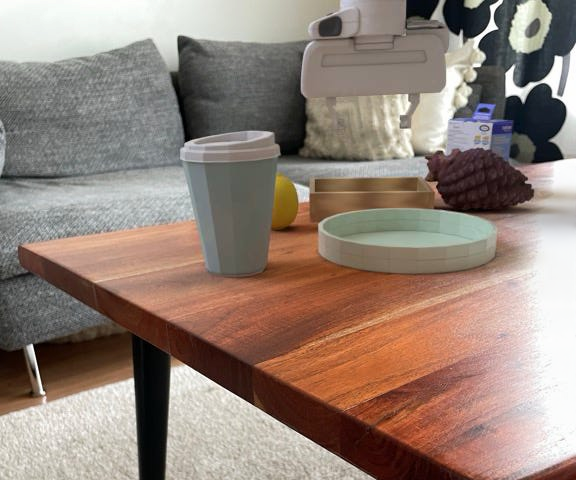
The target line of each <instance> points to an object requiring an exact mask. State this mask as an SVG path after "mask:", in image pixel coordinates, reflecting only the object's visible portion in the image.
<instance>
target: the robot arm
mask: <svg viewBox="0 0 576 480" xmlns="http://www.w3.org/2000/svg"><path fill="white" fill-rule="evenodd" d="M339 4H340V5H339V11H336V12H331V13H328V14H326V16H324V17H323V16H322V17H321V18H318V19H315V20H314V21H311V22H310V23H309V25H308V28H307V31H308V37H309V39H311V40H312V41H310V42H309V43H308V44H307V46H306V47H305V49H304V51H303V56H302V63H301V73H300V74H301V75H300V76H301V77H300V93H301V95H303V97H304V98H305V99H325V106H326V108H327V110H328V112H329V114H330V115H331V117H332V119H333V131H334V132H345V128H346V127H345V117H344V116H343V117H339V116H338V114H337V112H336V110H335V108H334V107H335V106H337V98H347V97H348V98H349V97H370V96H371V97H372V96H395V95H407V101H408V102H409V103H410V105H409V107H408V109H407V111H406V113H405V114H400V115H399V121H400V122H399V130H407V129H408V130H409V129H411V128H412V116H413V115H414V113H415V112H416V110H417V109H418V106H419V105H420V101H421V94H435V93H436V94H439V93H441V92H443V90H444V89H445V88H446V86H447V63H446V53H447V52H448V50H449V47H450V31H449V28H448V26H447V25H446V24H444V23H442V22H440V20H439V19H429V20H417V19H416V20H415V19H414V20H406V19H407V0H339ZM439 27H440V28H439Z"/></svg>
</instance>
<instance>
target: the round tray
mask: <svg viewBox="0 0 576 480" xmlns="http://www.w3.org/2000/svg"><path fill="white" fill-rule="evenodd" d="M317 225H318V226H317V250H318V251H317V252H318V254H319V255H320V256H321V257H322V258H323V259H325V260H327V261H328V262H331V263H333V264H336V265H338V266H339V265H340V266H342V267H346V268H351V269H355V270H361V271H366V272H373V273H374V272H375V273H385V274H398V275H399V274H400V275H426V274H427V275H428V274H429V275H430V274H444V273H452V272H458V271H459V272H460V271H465V270H469V269H474V268H477V267H480V266H482V265H485V264H488V263H489V262H491V261H492V260H493V259H494V258H495V256H496V252H497V244H498V234H499V227H498V226H497V225H496V224H495V223H494V222H493V221H490V220H488V219H486V218H483V217H482V216H477V215H474V214H469V213H464V212H458V211H451V210H443V209H435V208H434V209H420V208H385V209H369V210H359V211H352V212H347V213H341V214H337V215H334V216H331V217H328V218H325V219H324V220H323V221H321V222H318V224H317Z"/></svg>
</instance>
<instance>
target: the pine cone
mask: <svg viewBox="0 0 576 480" xmlns="http://www.w3.org/2000/svg"><path fill="white" fill-rule="evenodd" d="M424 159H425V160H426V161H427V162H426V167H427V169H428V173H427V175H426V176H425V177H424V180H425V181H426V182H427V183H437V184H436V185H435V189H436V190H437V193H438V195H440V198H441V200H442V201H443V204H445V205H448V206H449V207H453V209H454V211H459V210H462V212H466V211H468V210H469V209H471V208H473V209H478V208H482V209H483V210H495V211H497V210H503V209H509V208H510V207H516V206H518V204H524V203H525V202H530V201H531V200H532V199H533V198H534V197H535V189H534V188H532V187H533V185H532V183H527V181H529V178H528V176H526V175H525V174H523V173H522V171H521V170H519V169H516V168H515V167H514V166H512V165H511V164H510V161H509V162H507V161H505V160H504V158H503V157H499V156H498V155H497V154H496V153H493V152H492V150H490V149H488V150H484V149H483V148H479V147H478V148H476V149H473V148H471V149H469V150H466V151H463V152H462V151H461V150H460V149H459V148H456V149H452V152H451V154H450V155H445V152H444V150H441V149H438V150H436V151H435V152H434V153H433V154H431V155H425V156H424Z"/></svg>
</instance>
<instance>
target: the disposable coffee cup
mask: <svg viewBox="0 0 576 480" xmlns="http://www.w3.org/2000/svg"><path fill="white" fill-rule="evenodd" d="M275 138H276V137H275V132H273V131H266V130H244V131H236V132H227V133H221V134H215V135H214V134H213V135H209V136H203V137H199V138H194V139H191V140H189V141H187V142H185V143H184V144H183V147H181V148H180V149H179V160H181V161H182V166H183V171H184V175H185V179H186V185H187V189H188V192H189V193H188V194H189V198H190V203H191V207H192V211H193V215H194V221H195V224H196V228H197V233H198V237H199V241H200V246H201V250H202V256H203V260H204V264H205V268H206V269H207V271H209V273H210V274H211V275H214V276H219V277H224V278H225V277H226V278H242V277H251V276H254V275H257V274H258V275H259V274H260V273H263V272H264V270H265V269H266V267H267V266H268V262H269V261H268V260H269V252H270V241H271V231H272V230H271V229H272V227H271V222H272V212H273V202H274V192H275V182H276V173H278V172H277V171H278V162H279V160H278V159H279V156H281V155H282V154H281V147H280V145H279V143H276V140H275Z"/></svg>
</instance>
